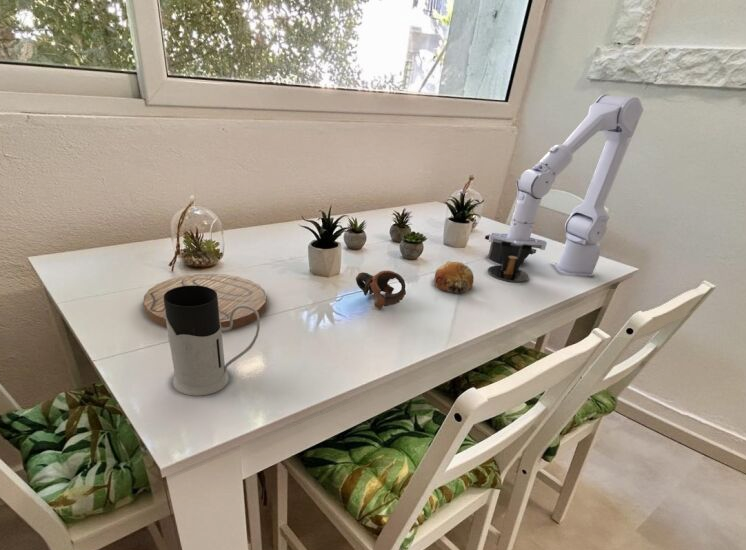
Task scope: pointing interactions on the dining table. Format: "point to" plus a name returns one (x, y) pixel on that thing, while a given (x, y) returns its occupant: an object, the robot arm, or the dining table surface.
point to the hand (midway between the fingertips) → (508, 271)
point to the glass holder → (198, 339)
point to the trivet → (228, 293)
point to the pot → (496, 251)
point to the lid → (508, 272)
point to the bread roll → (454, 277)
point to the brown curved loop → (381, 287)
